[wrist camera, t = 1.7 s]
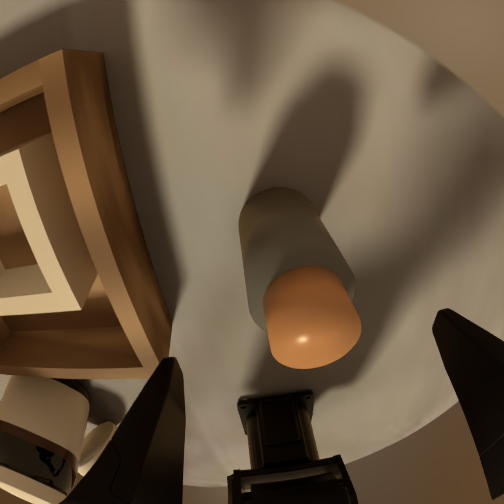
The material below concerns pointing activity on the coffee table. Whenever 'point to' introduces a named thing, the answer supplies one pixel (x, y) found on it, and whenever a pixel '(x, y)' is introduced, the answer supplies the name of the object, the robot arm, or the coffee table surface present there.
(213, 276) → the coffee table surface
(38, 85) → the walled box
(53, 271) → the inlet socket
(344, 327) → the orange-capped grey cylinder
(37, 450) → the spread jar
